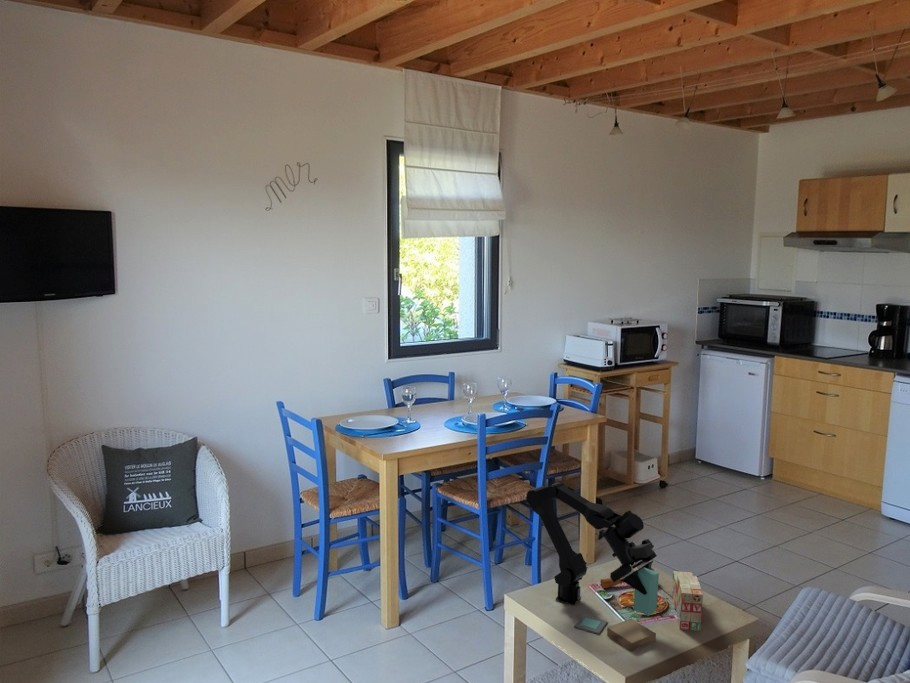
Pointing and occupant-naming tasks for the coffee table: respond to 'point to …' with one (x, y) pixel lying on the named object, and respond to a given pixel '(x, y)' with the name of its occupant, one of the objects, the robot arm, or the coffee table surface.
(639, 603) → the teal pillar
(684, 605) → the stack of blocks
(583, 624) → the slate tile
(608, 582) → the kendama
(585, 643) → the coffee table surface
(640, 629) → the walnut slab
